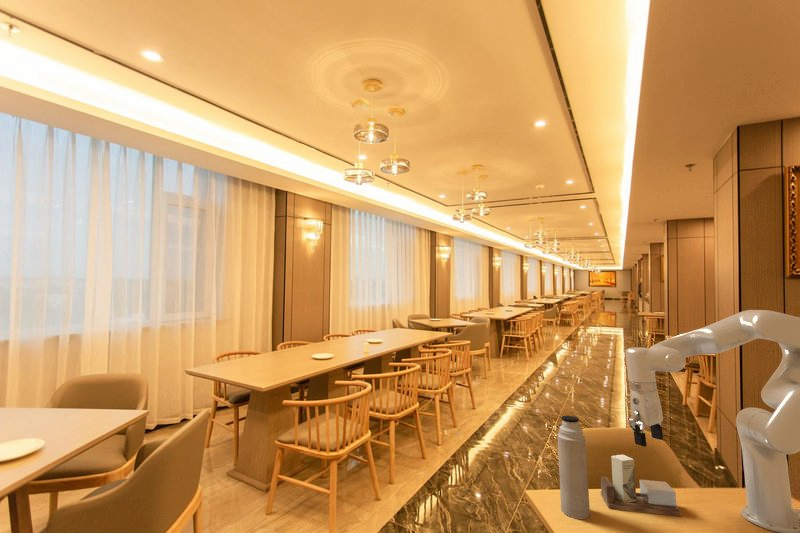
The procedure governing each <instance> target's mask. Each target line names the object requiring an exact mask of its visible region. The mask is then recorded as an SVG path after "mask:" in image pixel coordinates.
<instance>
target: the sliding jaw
mask: <svg viewBox="0 0 800 533" xmlns="http://www.w3.org/2000/svg"><path fill="white" fill-rule="evenodd" d="M639 493H640V495H641V497H642V498H643V500H644V501H645V502H646V503H647V505H654V506H664V507H673V508H678V507H677V496H676V491H675V489H673V488H672V487H671V485H670V484H668V482H666V481H661V480H660V481H659V480H648V479H639Z"/></svg>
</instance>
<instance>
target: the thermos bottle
mask: <svg viewBox="0 0 800 533" xmlns="http://www.w3.org/2000/svg"><path fill="white" fill-rule="evenodd" d="M561 420H562V421H561V425H560V426H559V429H558V433H557V434H556V435H557V451H558V454H557V456H558V470H559V472H558V473H559V491H560V492H559V495H560V510H561V512H562V513H563V512H564V513H565V514H566V516H567V515H568V516H567V517H569V516H570V517H569V518H572V517H573V518H572V519H576V518H577V519H576V520H586V519H589V517H590V498H589V497H590V496H589V495H590V494H589V482H588V481H589V480H588V460H587V444H586V443H587V440H586V436H584V431H583V429H582V428H581V427H580V422H579V421H580V418H579V417H577V416H574V415H562V416H561ZM564 513H563V514H564ZM565 514H564V515H565Z"/></svg>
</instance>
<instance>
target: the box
mask: <svg viewBox="0 0 800 533" xmlns="http://www.w3.org/2000/svg"><path fill="white" fill-rule="evenodd" d="M611 476H612V479H611V480H612V485H613V487H614V498H616V499H618V500H619V501H621V502H626V503H631V502H636V493H637V491H636V490H637V488H636V486H637V485H636V473H635V459H634V458H632V457H629V455H628V456H627V455H625V454H616V455H611Z"/></svg>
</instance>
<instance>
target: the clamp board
mask: <svg viewBox="0 0 800 533" xmlns="http://www.w3.org/2000/svg"><path fill="white" fill-rule="evenodd" d="M600 490H601V491H600V496H601V498H602V500H603V501H604V502H605V505H606V507H607V508H608V509H610V510H619V511H628V512H637V513H638V512H639V513H645V514H646V513H647V514H653V515H655V514H657V515H662V516H663V515H665V516H672V517H673V516H674V517H681V514H682V513H681V509H680V507H677V508H673V507H664V506H654V505H647V503H646V502H645V501H644V500H643V498H642V497H641V495H640V492H636V502H631V503H626V502H621V501H619V500H618V499H616V498H614V487H613V483H612V482H611V481H610V479H609V478H608V477H607V476H600Z"/></svg>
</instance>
